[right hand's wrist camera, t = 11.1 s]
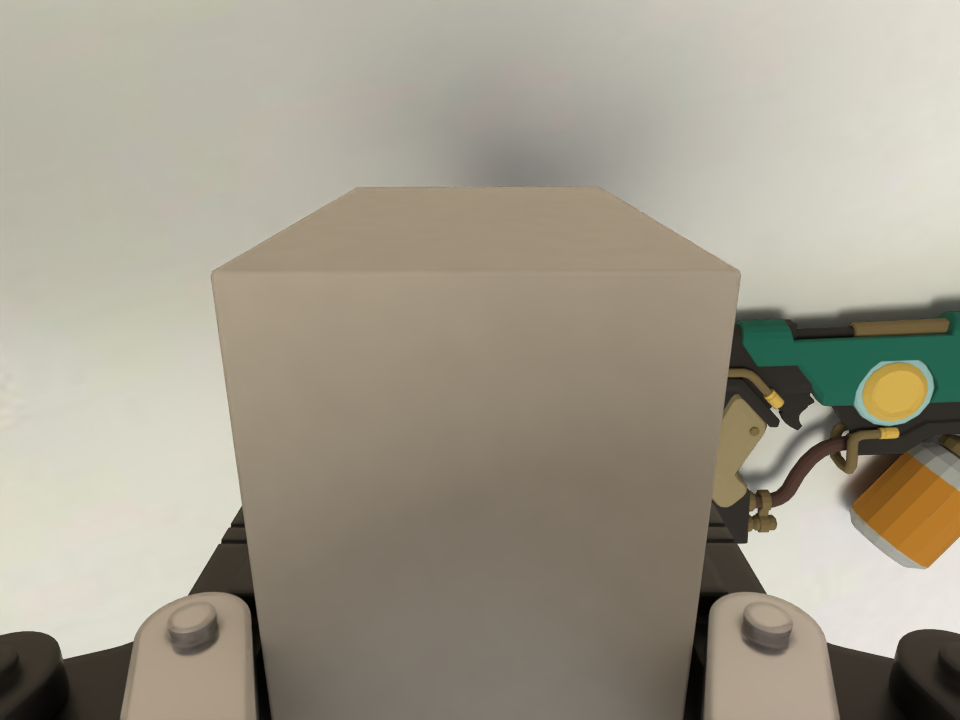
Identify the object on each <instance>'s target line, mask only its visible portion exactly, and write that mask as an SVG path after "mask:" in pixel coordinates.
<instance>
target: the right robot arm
mask: <svg viewBox="0 0 960 720" xmlns="http://www.w3.org/2000/svg"><path fill="white" fill-rule="evenodd" d="M0 720H272V719H271V711H270V704H269V697H268V689H267V682H266V675H265V668H264V660H263V653H262V646H261V638H260V631H259V624H258V617H257V609H256V602H255V595H254V587H253V580H252V573H251V565H250V558H249V551H248V544H247V536H246V529H245V522H244V514H243V507H241V508H240V510H239V511H238V513H237V515H236V516H235V518H234V520H233V521H232V523H231V528H228V530H227V531H226V533H225V535H224V536H223V538H222V542H221V544H219V545H218V546H217V548H216V550H215V551H214V553H213V555H212V556H211V558H210V560H209V561H208V563H207V565H206V566H205V568H204V570H203V571H202V573H201V575H200V576H199V578H198V580H197V581H196V583H195V585H194V586H193V588H192V590H191V591H190V593H189V595H188V596H186V597H183V598H180V599H177V600H175V601H173V602H171V603H168V604H167V605H165V606H163V607H162V608H160V609H158V610H157V611H156V612H154V613H153V614H152V615H151V616H150V617H148V618H147V619H146V620H145V621H144V623H143V624H142V625H141V626H140V628H139V629H138V631H137V633H136V635H135V639H134V641H133V642H130V643H128V644H125V645H122V646H119V647H115V648H111V649H107V650H103V651H98V652H94V653H90V654H85V655H81V656H76V657H72V658H68V659H63V658H62V654H61V650H60V647H59V644H58V642H57V641H56V640H55V639H54V638H53V637H51V636H50V635H47V634H44V633H41V632H34V631H23V632H14V633H9V634H4V635H0ZM683 720H960V634H957V633H954V632H949V631H944V630H935V629H923V630H916V631H913V632H910V633H908V634H906V635H904V636H903V637H902V638H901V640H900V641H899V643H898V646H897V650H896V654H895V657H894V659H892V658H888V657H883V656H879V655H874V654H870V653H866V652H861V651H857V650H853V649H848V648H844V647H840V646H837V645H833V644H830V643H827V642H826V639H825V635H824V633H823V631H822V629H821V628H820V626H819V625H818V624H817V623H816V621H815V620H814V619H813V618H812V617H810V616H809V615H808V614H807V613H806V612H804V611H803V610H802V609H800V608H798V607H797V606H795V605H793V604H792V603H789V602H787V601H785V600H783V599H780V598H777V597H774V596H771V595H767V594H766V592H765V590H764V589H763V587H762V585H761V583H760V582H759V580H758V578H757V577H756V575H755V573H754V572H753V570H752V568H751V567H750V565H749V563H748V562H747V560H746V558H745V556H744V555H743V553H742V551H741V550H740V548H739V546H738V545H737V543H734V538H733V536H732V535H731V533H730V531H729V529H728V528H727V527H725V523H724V521H723V519H722V518H721V516H720V514H719V513H718V511H717V509H716V508H715V506H714V504H713V503H711V509H710V517H709V524H708V532H707V540H706V548H705V555H704V563H703V571H702V578H701V586H700V594H699V601H698V609H697V617H696V625H695V632H694V640H693V648H692V655H691V663H690V671H689V679H688V686H687V694H686V702H685V709H684V717H683Z"/></svg>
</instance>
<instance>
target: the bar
mask: <svg viewBox="0 0 960 720" xmlns="http://www.w3.org/2000/svg"><path fill="white" fill-rule="evenodd" d="M740 278H741V274H740V271H739V270H738V269H736V268H734V267H732V266H731V265H729V264H727V263H726V262H724V261H722V260H721V259H719V258H717V257H716V256H714V255H712V254H711V253H709V252H707V251H706V250H704V249H702V248H701V247H699V246H697V245H696V244H694V243H692V242H691V241H689V240H687V239H686V238H684V237H682V236H681V235H679V234H677V233H676V232H674V231H672V230H671V229H669V228H667V227H666V226H664V225H662V224H660V223H659V222H657V221H655V220H654V219H652V218H650V217H649V216H647V215H645V214H644V213H642V212H640V211H639V210H637V209H635V208H634V207H632V206H630V205H629V204H627V203H625V202H624V201H622V200H620V199H619V198H617V197H615V196H614V195H612V194H610V193H609V192H607V191H605V190H604V189H602V188H600V187H357V188H355V189H353V190H352V191H350V192H348V193H347V194H345V195H343V196H341V197H340V198H338V199H336V200H334V201H333V202H331V203H329V204H328V205H326V206H324V207H322V208H321V209H319V210H317V211H315V212H314V213H312V214H310V215H309V216H307V217H305V218H303V219H302V220H300V221H298V222H297V223H295V224H293V225H291V226H290V227H288V228H286V229H284V230H283V231H281V232H279V233H278V234H276V235H274V236H272V237H271V238H269V239H267V240H265V241H264V242H262V243H260V244H259V245H257V246H255V247H253V248H252V249H250V250H248V251H246V252H245V253H243V254H241V255H240V256H238V257H236V258H234V259H233V260H231V261H229V262H228V263H226V264H224V265H222V266H221V267H219V268H217V269H215V270H214V271H212V273H211V281H212V289H213V296H214V303H215V310H216V318H217V325H218V332H219V340H220V347H221V354H222V361H223V369H224V376H225V383H226V391H227V398H228V405H229V412H230V420H231V427H232V434H233V442H234V449H235V456H236V463H237V471H238V478H239V485H240V493H241V500H242V507H243V514H244V522H245V529H246V536H247V544H248V551H249V558H250V565H251V573H252V580H253V587H254V595H255V602H256V609H257V617H258V624H259V631H260V638H261V646H262V653H263V660H264V668H265V675H266V682H267V689H268V697H269V704H270V711H271V719H272V720H683V717H684V709H685V702H686V694H687V686H688V679H689V671H690V663H691V655H692V648H693V640H694V632H695V625H696V617H697V609H698V601H699V594H700V586H701V578H702V571H703V563H704V555H705V548H706V540H707V532H708V524H709V517H710V509H711V501H712V494H713V486H714V478H715V470H716V463H717V455H718V447H719V440H720V432H721V424H722V417H723V409H724V401H725V393H726V386H727V378H728V370H729V363H730V355H731V347H732V339H733V332H734V324H735V316H736V309H737V301H738V293H739V285H740Z"/></svg>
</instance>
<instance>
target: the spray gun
mask: <svg viewBox="0 0 960 720" xmlns="http://www.w3.org/2000/svg"><path fill="white" fill-rule="evenodd" d="M810 393H812V394H813V396H814V397H815V399H816V400H817V401H818V402H820V403H821V404H822V405H824V406H832V408H833V409H834V411H835V412H836V414H837V415H838V417H839V418H840V419H841V421H842V422H839V423H838V424H837V425H835V426H834V427H833V429H832V431H831V434H830V439H828V440H825V441H822V442H820V443H818V444H817V445H815V446H813V447H812V448H810V449H809V450H808V451H807V452H806V453H805V454H804V455H803V456H802V457H801V458H800V459H799V460H798V462H797V463H796V464H795V466H794V467H793V468H792V470H791V471H790V473H789V474H788V476H787V478H786V480H785V481H784V483H783V485H782V486H781V487H780V488H779V489H778V490H777V491H776V492H773V493H770V492H769V491H768V490H757V492H756V494H754V493H753V492H751V491H749V490H748V488H747V485H746V483H745V482H744V480H743V479H742V477H741V476H740V474H739V473H738V469H739V468H740V466H741V465H742V464H743V462H744V461H745V460H746V458H747V457H748V455H749V454H750V453H751V451H752V450H753V448H754V447H755V446H756V444H757V443H758V441H759V440H760V439H761V437H762V436H763V434H764V433H765V430H766V427H767V424H768V425H769V427H778V425H779V422H780V420H779V419H778V418H777V417H776V416H775V415H774V413H773V412H772V411H771V410H770V408H771V407H773V408H775V409H776V408H778V409H779V410H780V411H779V414H780V416H781V418H782V419H783V420H784V422H785V423H786V424H788V425H789V426H790V427H792V428H794V429H796V430H799V429H800V428H801V426H802V425H801V424H800V422H799V415H800V414H801V412H802V411H804V410H805V409H806V408H807V407H808V405H810V404H812V403H814V399H812V398H811V397H810ZM846 430H849V433H848V434H847V435H846V436H842V433H843V432H844V431H846ZM951 434H960V311H951V312H946V313H943V314H942V315H940V316H938V317H937V318H936V319H916V320H894V321H872V322H852V323H850V325H849V326H848V327H841V328H816V329H797V325H796V324H795V323H794V322H792V321H790V320H783V319H764V320H741V321H736V323H735V324H734V332H733V339H732V347H731V355H730V363H729V370H728V378H727V386H726V393H725V401H724V409H723V417H722V424H721V432H720V440H719V447H718V455H717V463H716V470H715V478H714V486H713V494H712V501H711V503H713V504H714V506H715V508H716V509H717V511H718V513H719V514H720V516H721V518H722V519H723V521H724V523H725V527H727V528H728V529H729V531H730V533H731V535H732V536H733V538H734V543H737V544H743V543H747V541H748V532H749V531H752V529H755V530H758V532H769V530H775V529H776V526H777V522H776V518H775V517H774V516H773V515H768V510H771V507H776V506H779V505H782V504H784V503H785V502H787V501H789V500H790V499H791V498H792V497H793V496H794V494H795V493H796V491H797V489H798V488H799V486H800V484H801V482H802V481H803V479H804V477H805V476H806V475H807V474H808V473H809V471H810V470H811V469H812V468H813V467H814V465H815V464H816V463H817V462H819V461H820V460H821V459H823V458H824V457H825V456H827V455H829V454H830V457H831V459H832V460H833V461H834V463H835V464H836V465H837V467H838V468H840V469H841V470H842V471H844V472H845V473H847V474H851V473H853V472H854V470H855V469H856V467H857V459H858V455H881V454H902V455H901V456H900V457H899V458H898V459H897V460H896V461H895V462H894V463H893V464H892V465H891V466H890V467H889V468H888V469H887V470H886V471H885V472H884V473H883V474H882V475H881V476H880V477H879V478H878V479H877V480H876V481H875V482H874V483H873V484H872V485H871V486H870V487H869V488H868V489H867V490H866V491H865V492H864V493H863V494H862V495H861V496H860V497H859V498H858V499H857V500H856V501H855V502H854V503H853V504H852V506H851V508H850V515H851V522H852V524H853V525H854V527H855V528H856V529H857V530H858V531H859V532H860V533H861V534H862V535H864V536H865V537H866V538H867V539H868V540H869V541H870V542H871V543H872V544H874V545H875V546H876V547H877V548H878V549H880V550H881V551H882V552H883V553H885V554H886V555H887V556H889V557H890V558H892V559H893V560H894V561H896V562H897V563H899V564H901V565H902V566H905V567H908V568H918V569H926V568H928V567H929V566H930V565H931V564H932V563H933V562H934V561H935V560H937V559H938V558H939V557H940V556H941V555H942V554H943V553H944V552H945V551H946V550H947V549H948V548H949V547H950V546H951V545H952V544H953V543H954V542H955V541H956V540H957V539H958V538H959V537H960V436H956V435H951ZM933 435H942V436H941V437H940V438H939V439H938V441H939V442H940V443H941V444H943V445H944V446H943V445H941V444H938V443H936V442H931V443H922V442H923V441H925V440H927V439H928V438H930V437H931V436H933ZM843 450H847V453H846V461H845V460H844V458H843V457H842V456H841V453H840V451H843ZM755 508H758V513H756V515H754V516H752V517H751V516H750V515H749V511H753V510H754V509H755Z"/></svg>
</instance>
